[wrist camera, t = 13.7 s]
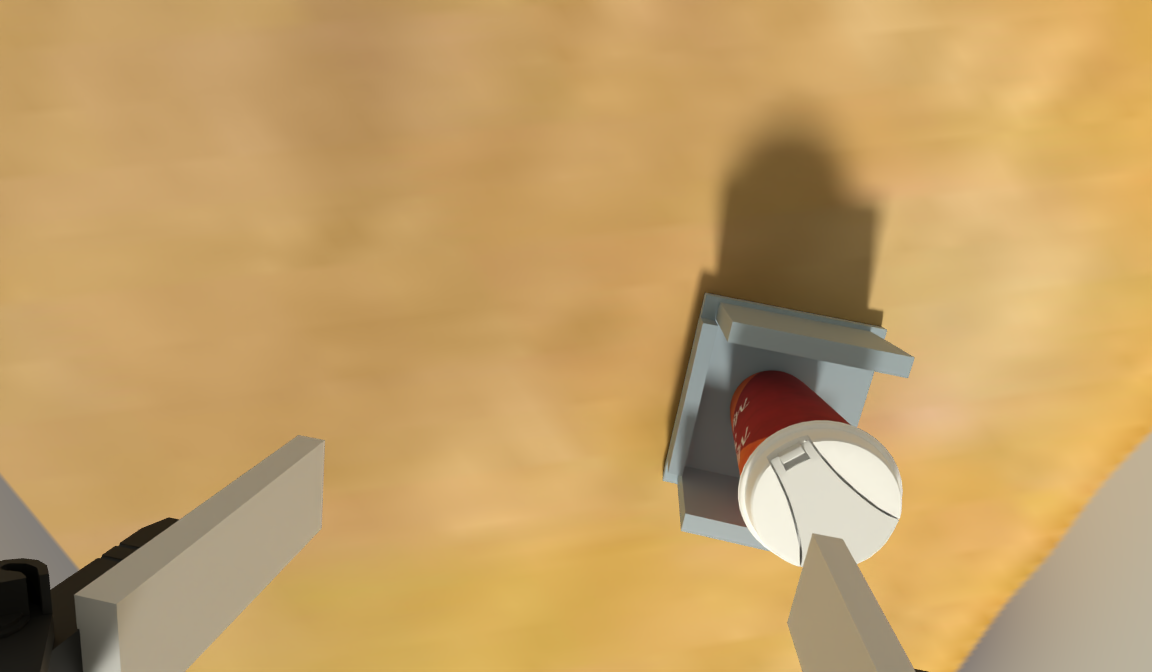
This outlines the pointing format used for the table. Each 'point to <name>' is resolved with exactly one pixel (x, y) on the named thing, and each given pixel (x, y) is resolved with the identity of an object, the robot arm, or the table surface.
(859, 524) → the paper cup
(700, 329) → the holder
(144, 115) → the table surface
